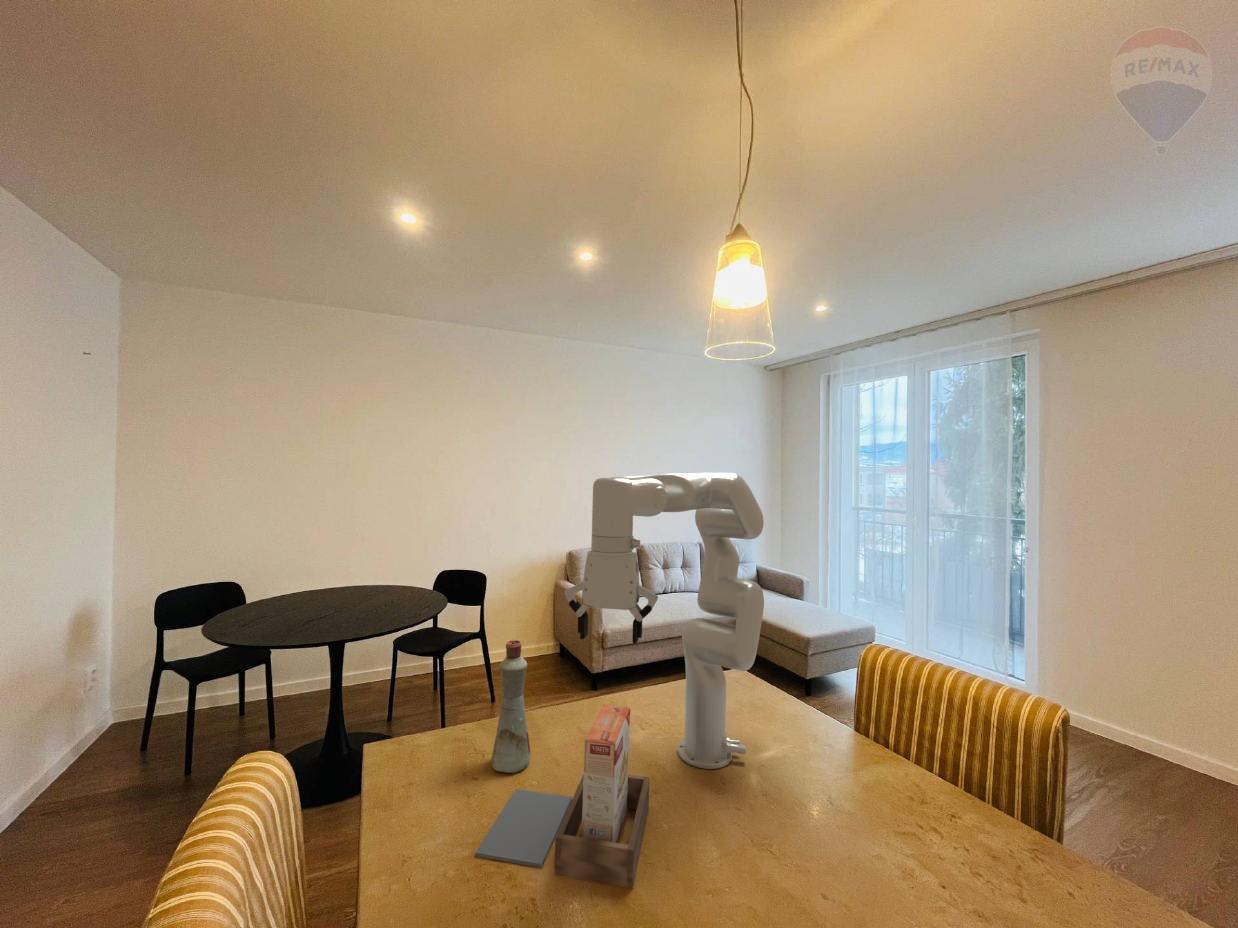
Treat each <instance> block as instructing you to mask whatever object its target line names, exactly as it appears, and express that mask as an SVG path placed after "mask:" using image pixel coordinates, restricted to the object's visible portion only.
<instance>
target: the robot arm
mask: <svg viewBox="0 0 1238 928" xmlns="http://www.w3.org/2000/svg"><path fill="white" fill-rule="evenodd" d="M592 485H593V486H592V504H591V505H592V508H591V509H592V510H591V546H590V549H591V550H588V551H587V555H586V559H585V565H584V571H583V580H582V582H579V583H578V584H575V585H573V586H571V587H569V588H567V589H566V590H564V596H565V598H566V601H567V602H568V606H569V607H570V608H571V610H573V612H574V613H575V615H576V617H577V634H579V639H580V640H585V639H586V638H587V636H588V635H589V614H588V612H587V611H588V609H589V608H595V609H604V610H605V609H607V610H619V611H620V610H622V611H629V612H630V614H632V616H633V618H634V619H633V620H632V644H635V645H636V644H638V641H639V640H640V639H641V638H642V637H643V620H644V619H645V618H646V617H647V615H649V614H650V613H652V610H653V608H654V607H655V605H656V603H657V601H658V599H659V596H658V594H656V593H654V592H653V591H651V590H649V589H647V588H646V587H644V586H642V585H641V584H640V572H639V571H640V570H639V568H640V567H639V561H638V560H639V559H638V554H637V552H634V551H633V550H635V549H636V548H641V539H636V538H635V537H634V535H633V529H634V528H633V527H634V522H633V521H634V516H635V517H645V518H646V517H647V518H648V517H649V518H650V517H654V516H658V515H659V514H661V513H683V512H688V511H689V512H690V511H693V510H695V515H694V520H695V526H696V527H697V528H696V529H697V530H698V532H699V535H700V538H701V540H702V544H703V546H704V562H703V565H702V566H703V567H702V571H701V576H700V580H699V581H700V582H699V586H698V591H697V599H696V600H697V601H696V602H697V605H698V608H699V609H700V610H701V611H703V612H705V613H708V614H710V615H715V616H718V617H724V618H727V619H733V620H735V624H730V623H726V622H723V621H718V620H713V619H709V618H694V619H693V618H692V619H691V620H689V621H688V622H687V623H686V624H685V625H684V627H683V630H682V637H681V642H682V650H683V655H684V663H685V664H684V665H685V697H684V698H685V699H684V700H685V701H684V702H685V703H684V705H685V707H684V708H685V710H684V711H685V712H684V719H685V720H684V739H682V740H681V741H680V742H679V743H678V747H677V753H678V756H679V758H680V759H681V760H683V762H685V763H687V764H688V765H691V766H693V767H696V768H699V769H706V770H716V769H720V768H724V767H726V766H727V765H729V764H730V763H731V762H732V759H733V753H734V754H735V753H736V754H739V755H741V754H742V755H746V744H742V743H741V744H740V739H730V737H728V733H727V730H726V729H727V728H726V726H727V725H726V722H727V717H726V716H727V715H726V714H727V679H726V675H725V672H724V670H723V667H724V668H728V669H731V670H734V671H735V670H736V671H739V672H740V671H741V672H745V671H746V672H747V671H748V670H750V669H751V668H752V667H753V665H754V664H755V660H756V656H757V652H758V647H759V641H760V636H761V628H762V624H763V623H762V622H763V615H764V608H765V596H764V592H763V588H762V586H760V584H759V583H757V582H756V581H753V580H751V579H744V578H738V572H739V566H740V556H739V553H738V551H737V548H736V546H735V544H734V543H733V542H732V540H731V539H737V540H746V541H747V540H755V539H757V538H758V537H760V536H761V534H762V532H763V529H764V524H765V523H764V514H763V512H762V510H761V507H760V505H759V503H758V501H757V499H756V497H755V496H754V493H753V492H752V490H751V487H750V486H749V485H748V483H747V482H746V480H745V479H744V478H743V477H742V476H741V475H740V474H738V473H735V472H710V471H709V472H708V471H707V472H706V471H705V472H681V473H680V472H677V473H676V472H675V473H661V474H653V475H652V474H650V475H634V476H633V475H629V476H612V477H599V478H597V479H596V480H594V482H593V484H592ZM581 591H582V593H581V601H582V604H581V603H580V602H579V601H578V600H577V598H576V596H575V594H577V593H579V592H581ZM640 596H641V597H643V598H645V599H647V604H646V605H645V606H644V607H643V608H642V607H640V605H639V604H638V603H639V601H640Z"/></svg>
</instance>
